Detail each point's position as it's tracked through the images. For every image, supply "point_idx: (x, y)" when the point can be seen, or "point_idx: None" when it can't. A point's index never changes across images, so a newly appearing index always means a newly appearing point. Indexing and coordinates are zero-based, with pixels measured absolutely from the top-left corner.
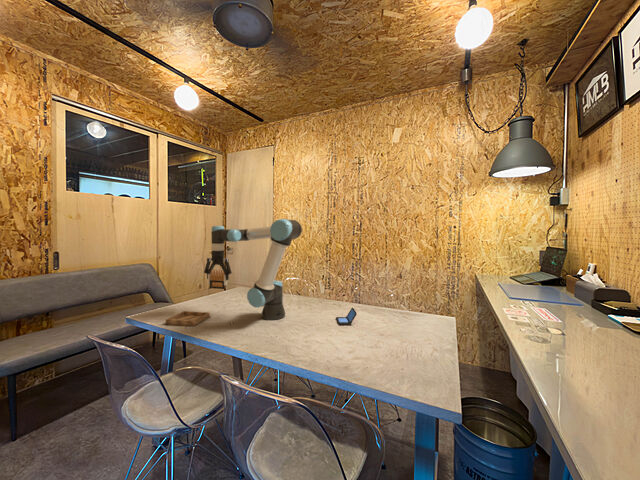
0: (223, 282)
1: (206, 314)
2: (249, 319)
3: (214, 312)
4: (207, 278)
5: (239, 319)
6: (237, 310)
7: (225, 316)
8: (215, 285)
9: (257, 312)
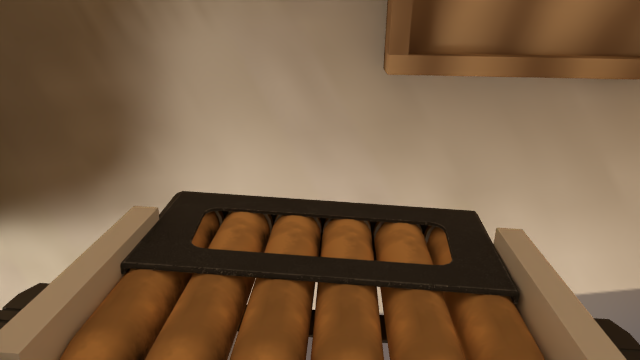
0: (157, 248)
1: (392, 11)
2: (13, 62)
3: (407, 195)
4: (611, 327)
5: (96, 50)
6: None
7: (258, 108)
8: (360, 231)
9: (52, 236)
